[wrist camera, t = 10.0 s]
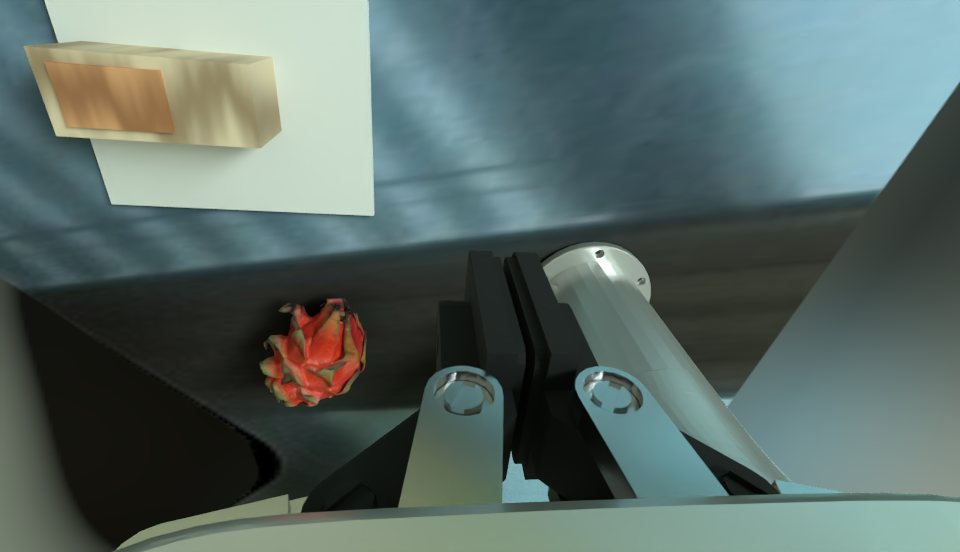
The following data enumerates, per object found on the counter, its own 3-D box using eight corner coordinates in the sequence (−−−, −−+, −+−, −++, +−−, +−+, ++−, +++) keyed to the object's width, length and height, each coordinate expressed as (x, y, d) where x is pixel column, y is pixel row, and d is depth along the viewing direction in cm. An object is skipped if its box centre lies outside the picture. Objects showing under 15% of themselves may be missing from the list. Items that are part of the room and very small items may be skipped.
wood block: (258, 149, 30) (53, 137, 28) (281, 130, 34) (105, 119, 33) (246, 65, 27) (19, 46, 26) (272, 56, 32) (81, 40, 30)
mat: (374, 213, 39) (373, 215, 38) (116, 201, 36) (111, 204, 36) (367, -45, 30) (366, -46, 29) (23, -85, 27) (15, -86, 27)
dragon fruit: (291, 360, 48) (348, 268, 45) (348, 416, 46) (411, 323, 43) (220, 382, 40) (284, 271, 37) (285, 450, 38) (357, 338, 35)
